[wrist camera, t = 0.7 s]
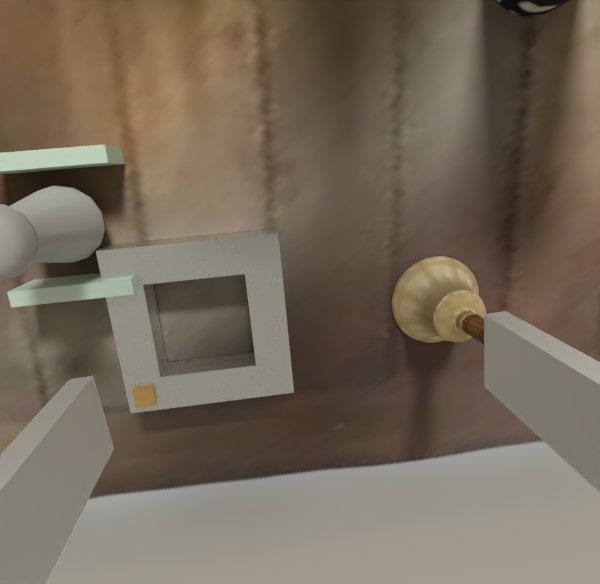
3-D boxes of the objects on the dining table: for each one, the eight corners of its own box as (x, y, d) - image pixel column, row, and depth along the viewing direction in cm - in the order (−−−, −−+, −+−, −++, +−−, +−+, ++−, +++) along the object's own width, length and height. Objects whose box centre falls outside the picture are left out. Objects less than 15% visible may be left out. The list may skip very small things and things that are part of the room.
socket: (108, 245, 35) (93, 252, 32) (276, 228, 36) (278, 233, 33) (139, 395, 39) (128, 416, 36) (291, 377, 40) (294, 395, 37)
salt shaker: (81, 270, 36) (-12, 321, 23) (22, 221, 34) (-110, 246, 22) (128, 221, 35) (59, 246, 23) (71, 169, 34) (-37, 164, 21)
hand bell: (386, 264, 38) (474, 323, 23) (475, 248, 39) (618, 295, 24) (395, 348, 41) (481, 453, 25) (479, 332, 41) (612, 425, 26)
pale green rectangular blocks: (2, 157, 33) (-31, 155, 29) (121, 148, 34) (104, 144, 30) (37, 293, 36) (11, 307, 32) (146, 282, 37) (134, 294, 33)
